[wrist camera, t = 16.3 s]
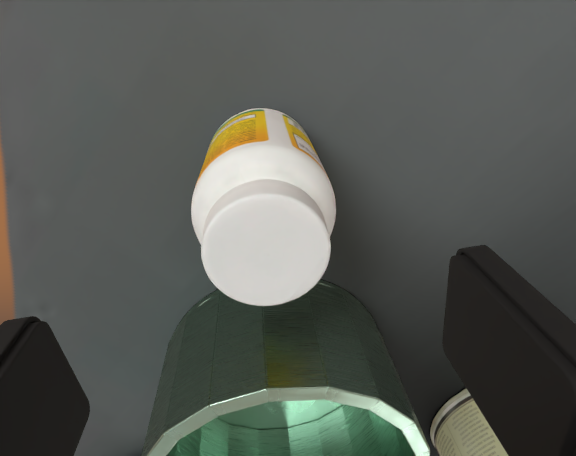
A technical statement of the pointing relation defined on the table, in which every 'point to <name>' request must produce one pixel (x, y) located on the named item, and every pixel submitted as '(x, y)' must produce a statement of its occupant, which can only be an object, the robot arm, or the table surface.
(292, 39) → the table surface
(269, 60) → the table surface
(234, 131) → the supplement bottle
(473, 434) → the coffee can
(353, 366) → the pot
